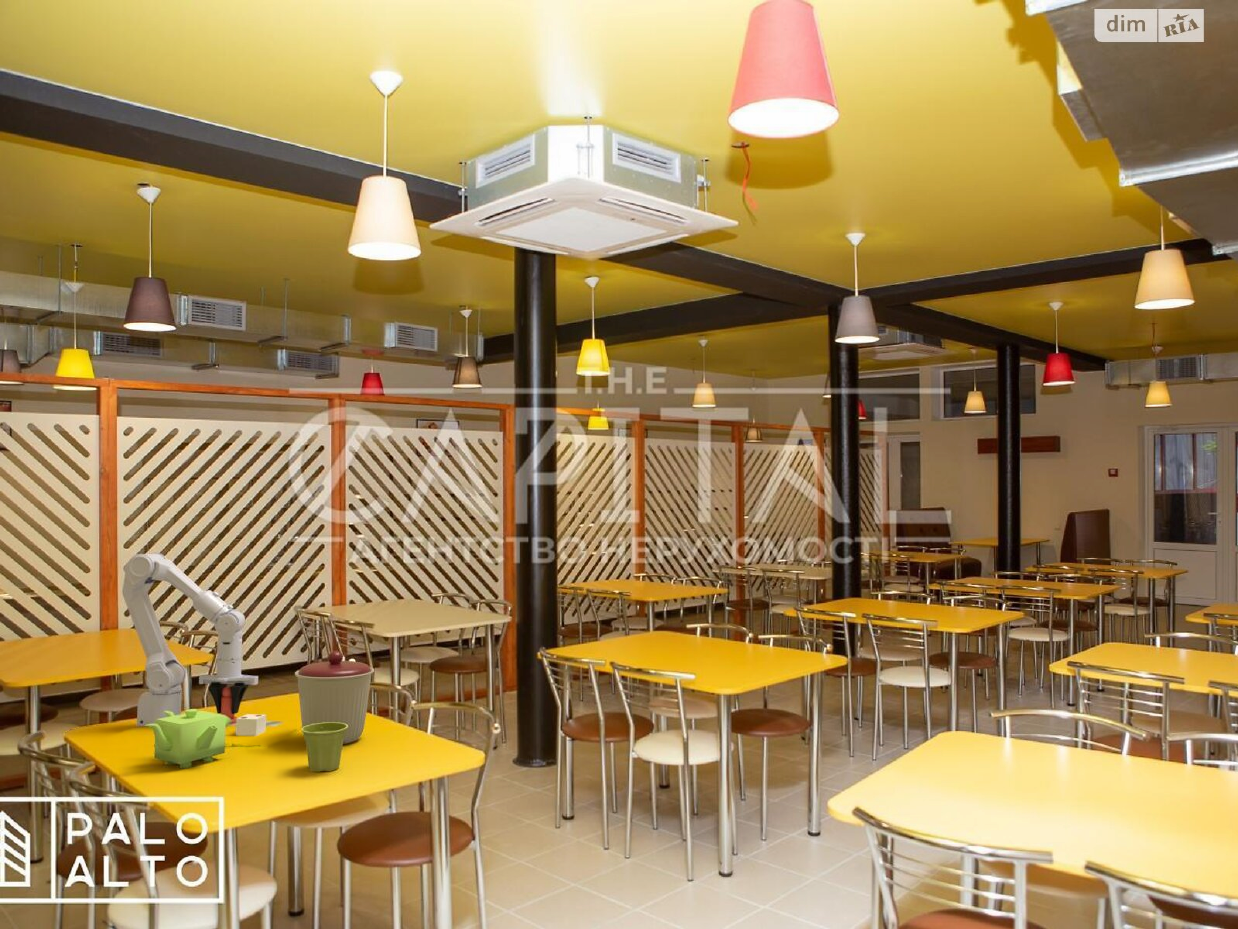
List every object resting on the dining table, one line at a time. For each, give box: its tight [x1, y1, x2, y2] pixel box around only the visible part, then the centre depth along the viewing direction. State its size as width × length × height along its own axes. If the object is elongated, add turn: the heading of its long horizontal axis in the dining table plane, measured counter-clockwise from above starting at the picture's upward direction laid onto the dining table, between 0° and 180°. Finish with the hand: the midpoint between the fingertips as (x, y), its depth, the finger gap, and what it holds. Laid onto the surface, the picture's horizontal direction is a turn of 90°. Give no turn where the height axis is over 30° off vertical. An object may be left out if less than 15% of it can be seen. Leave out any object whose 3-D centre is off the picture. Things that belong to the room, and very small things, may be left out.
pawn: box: [220, 685, 238, 725], centre depth 229 cm, size 5×5×9 cm
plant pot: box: [301, 722, 348, 773], centre depth 192 cm, size 9×9×9 cm
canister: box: [294, 650, 375, 745], centre depth 216 cm, size 18×18×21 cm
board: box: [228, 720, 285, 727], centre depth 228 cm, size 23×7×1 cm, turn 86°
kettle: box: [144, 708, 232, 769], centre depth 196 cm, size 15×14×11 cm
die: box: [235, 713, 267, 737], centre depth 218 cm, size 5×5×5 cm
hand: (227, 713), depth 229 cm, fingers closed on pawn, 3 cm apart
